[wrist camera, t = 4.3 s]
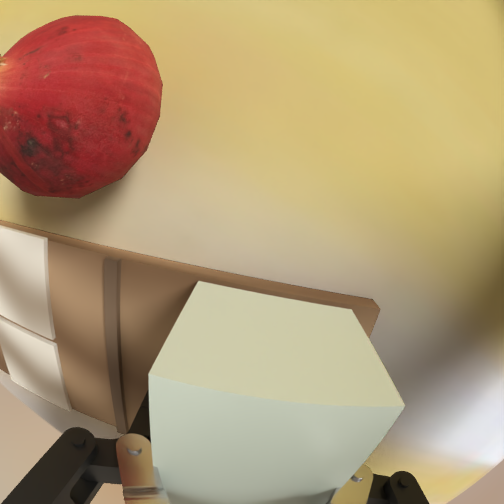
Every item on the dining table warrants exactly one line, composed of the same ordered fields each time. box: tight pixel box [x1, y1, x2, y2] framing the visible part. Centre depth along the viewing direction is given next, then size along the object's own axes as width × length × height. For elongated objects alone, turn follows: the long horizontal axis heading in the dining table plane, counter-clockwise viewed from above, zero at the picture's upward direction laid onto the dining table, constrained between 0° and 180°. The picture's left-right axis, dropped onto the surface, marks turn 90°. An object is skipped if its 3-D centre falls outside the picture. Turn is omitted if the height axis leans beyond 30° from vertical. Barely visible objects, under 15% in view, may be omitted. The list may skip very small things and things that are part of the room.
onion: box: [0, 15, 163, 198], centre depth 7 cm, size 6×6×8 cm
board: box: [0, 220, 380, 434], centre depth 13 cm, size 11×22×1 cm, turn 79°
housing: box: [148, 281, 405, 504], centre depth 10 cm, size 11×6×6 cm, turn 169°
